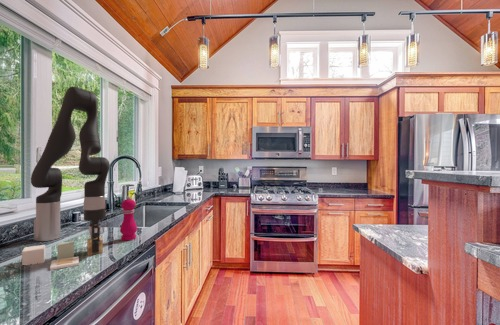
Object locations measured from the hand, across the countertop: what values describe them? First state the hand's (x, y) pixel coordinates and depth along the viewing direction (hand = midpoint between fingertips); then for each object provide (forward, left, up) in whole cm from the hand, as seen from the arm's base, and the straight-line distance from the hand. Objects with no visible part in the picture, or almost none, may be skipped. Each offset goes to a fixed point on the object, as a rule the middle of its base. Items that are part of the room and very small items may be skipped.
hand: (94, 250), depth 108 cm
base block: (-15, -11, -1) cm, 19 cm away
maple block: (0, 0, -1) cm, 1 cm away
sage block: (-8, -6, -1) cm, 10 cm away
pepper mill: (+3, +19, -1) cm, 20 cm away
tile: (-2, -13, -1) cm, 13 cm away
